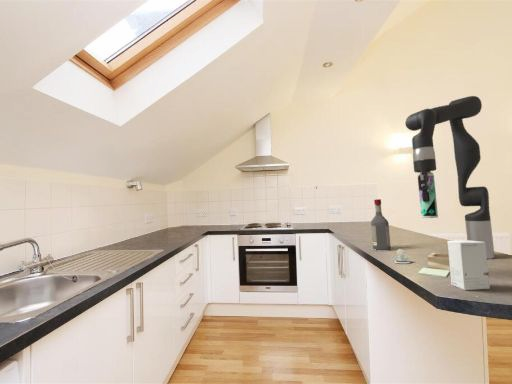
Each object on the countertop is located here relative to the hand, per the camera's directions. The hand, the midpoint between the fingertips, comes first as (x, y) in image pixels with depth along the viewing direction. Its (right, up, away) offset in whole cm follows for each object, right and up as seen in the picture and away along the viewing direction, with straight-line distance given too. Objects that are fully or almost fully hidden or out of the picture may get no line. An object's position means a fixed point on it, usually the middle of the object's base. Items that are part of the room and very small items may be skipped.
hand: (427, 201), depth 101 cm
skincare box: (+1, -27, -19) cm, 33 cm away
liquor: (+7, -31, +51) cm, 60 cm away
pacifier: (-1, -30, +17) cm, 34 cm away
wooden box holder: (+10, -28, +4) cm, 30 cm away
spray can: (0, -7, 0) cm, 7 cm away
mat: (+1, -28, -2) cm, 28 cm away
